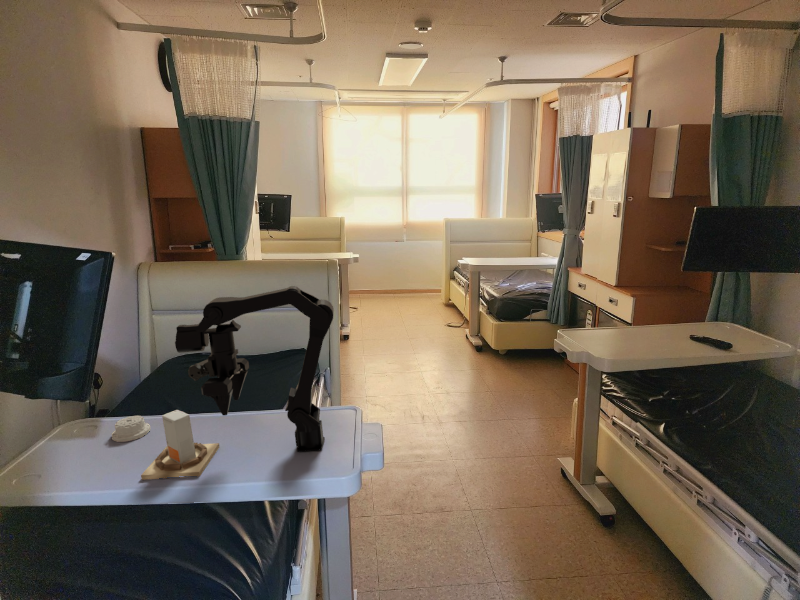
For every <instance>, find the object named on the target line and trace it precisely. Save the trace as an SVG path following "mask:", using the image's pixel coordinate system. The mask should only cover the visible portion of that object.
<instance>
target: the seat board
mask: <svg viewBox="0 0 800 600" xmlns="http://www.w3.org/2000/svg"><path fill="white" fill-rule="evenodd" d="M194 447H195V453H196V458H194V459H191V460H189V461H186V462H184V463H182V465H181V464H179V463H177V462H176V461H174V460H172V459H170V458H169V454H168V448H167V446H166V447H165V448H164V449H162V451H161V452H160V453H159V454H158V455H157V457H156V458H155V459H154V460H153V461H152V462H151V463H150V464H149V465H148V467H147V468H146V469H144V471H143V472H142V473H141V474H140V478H141V480H142V481H144V480H158V479H159V478H163V479H168V478H167V477H179V476H197V477H201V475H202V474H203V472H204V471H205V469H206V468H207V467H208V465H209V463H210V462H211V461H212V459H213V458H214V456H215V455H216V454H217V452H218V450H219V449H220V443H219V442H218V443H217V442H216V443H202V442H199V443H198V442H194ZM159 480H160V479H159Z"/></svg>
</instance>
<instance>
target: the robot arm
mask: <svg viewBox="0 0 800 600" xmlns="http://www.w3.org/2000/svg"><path fill="white" fill-rule="evenodd" d="M288 305H291V306H293V307H294V308H295V309H296V310H297V311H299V312H300V313H302V314H303V315H304V316H305V317H308V318H309V326H308V327H309V331H308V332H309V333H308V335H309V336H308V342H307V344H306V345H307V346H306V350H305V353H304V354H305V355H304V359H303V364H302V367H301V372H300V375H299V379H298V383H297V385H296V387H295V388H294V387H290V390H289V394H288V399H287V401H286V405H285V408H284V410H285V412H287V413H286V414H287V419H288V420H289V422H291V423H292V424H294V425H295V427H296V428H295V430H294V438H295V445H296V447H297V448H296V452H299V453H301V452H312V451H315V452H316V451H322V450H323V447H324V443H325V440H326V439H325V437H324V433H323V431H324V430H323V421H322V420H320V415H321V409H320V408H319V407H318V406H316V405H315V404H314V403H312V401H313V386H314V380H315V377H316V372H317V367H318V364H319V359H320V357H321V351H322V346H323V343H324V339H325V337H326V335H327V334H328V331H329V329H330V327H331V326H332V325H331V324H332V323H333V319H334V314H335V313H334V311H335V310H334V306H333V304H332V302H330V301H329V300H327V299H320V298H317V297H316V296H314V295H312V294H310V293H308V292H306V291H304V290H302V289H300V288H299V287H298V286H295V285H291V286H288V287H286V288H281V289H276V290H271V291H268V292H261V293H257V294H253V295H247V296H243V297H242V296H241V297H239V296H238V297H235V296H226V297H225V296H222V297H221V296H219V297H216V298H213V299H212V300H211V301H210V302H208V303H207V304H206V305H205V306H204V308H203V311H202V316H203V317H202V319H201V321H200V322H199V323H197V324H179V325H177V326H176V328H175V329H176V334H175V340H174V345H175V349H176V352H177V353H179V354H181V353H182V354H183V353H194V352H195V353H196V352H204V351H205V348H206V347H210V355H208V357H207V359H205V360H203V361H200V362H198V363H194V364H192V365H190V366H189V367H188V371H187V372H188V375H187V376H188V378H189V379H193V381H194V382H196V381H199V379H203V378H204V377H206V376H208V375H209V378H208V379H207V380H206V381H205V382H204V383H203V385H202V386H201V387H200V389H201V395H203V396H205V397H209V398H211V399H212V400H214V401H215V404H216V405H217V408H218V409H219V411H220V413H221V415H222V416H227V415H228V413H229V409H230V405H231V399H232V398H233V400H234V401H238V400H239V399H240V396H241V392H242V389H243V387H244V383H245V380H246V377H247V374H248V372H249V370H248V369H250V365H249V364H250V363H249V360H248V359H246V358H243V357H241V358H237V355H238V354H239V349H238V348H237V349H236V347H235V346H236V345H235V338H234V337H235V335H234V333H235V332H238V331H239V330H240V329H241V328H242V326H241V324H239V323H237V322H236V321H235V320H234V319H237V318H238V317H241V316H243V315H246V314H251V313H255V312H259V311H264V310H269V309H273V308H278V307H282V306H283V307H284V306H288ZM227 322H229V323H227ZM212 326H216V327H212ZM211 327H212V328H211Z"/></svg>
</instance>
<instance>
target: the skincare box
mask: <svg viewBox="0 0 800 600" xmlns="http://www.w3.org/2000/svg"><path fill="white" fill-rule="evenodd" d="M161 418H162V422H163V423H162V424H163V429H164V435H165V441H166V447H167V448H168V454H169V458H170V459H172V460H174V461H176V462H177V463H179V464H181V465H182V463H184V462H186V461H189V460H191V459H194V458H196V453H195V447H194V443H195V442H194V436H193V429H192V423H191V417H190V414H188V413H186V412H184V411H181V410H179V409H175V410H173V411H170V412H167V413H165V414H162V415H161Z"/></svg>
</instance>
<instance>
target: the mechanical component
mask: <svg viewBox="0 0 800 600" xmlns="http://www.w3.org/2000/svg"><path fill="white" fill-rule="evenodd" d="M114 429H115V430H114V431H113V432H112V433H111V439H112V441H114V442H118V443H125V442H131V441H135V440H137V439H140V438H143V437H144V435H145V436H147V435H148V434H149V433H150V432H151V425H150V424H149V423H148V422H145V419H144V417H142V415H132V416H126V417H124V418H121V419H119V420H118V421H116V422H115V424H114ZM149 431H150V432H149ZM148 432H149V433H148ZM147 433H148V434H147Z"/></svg>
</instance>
